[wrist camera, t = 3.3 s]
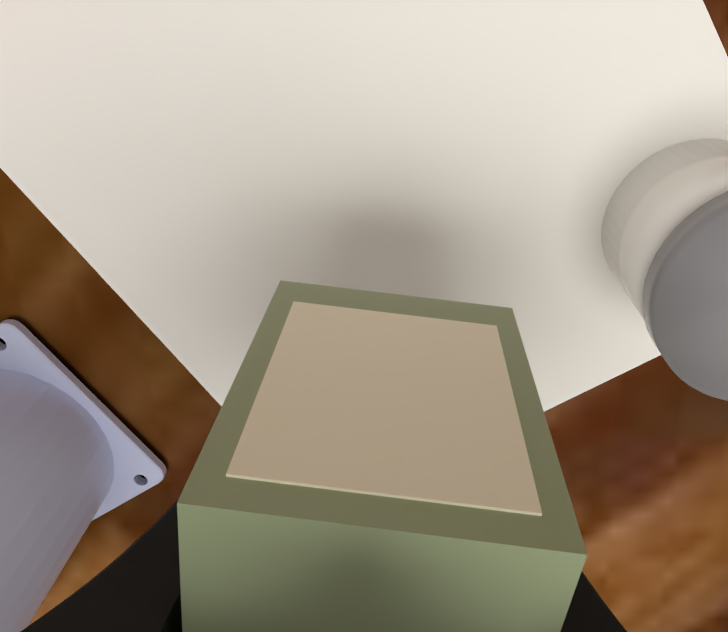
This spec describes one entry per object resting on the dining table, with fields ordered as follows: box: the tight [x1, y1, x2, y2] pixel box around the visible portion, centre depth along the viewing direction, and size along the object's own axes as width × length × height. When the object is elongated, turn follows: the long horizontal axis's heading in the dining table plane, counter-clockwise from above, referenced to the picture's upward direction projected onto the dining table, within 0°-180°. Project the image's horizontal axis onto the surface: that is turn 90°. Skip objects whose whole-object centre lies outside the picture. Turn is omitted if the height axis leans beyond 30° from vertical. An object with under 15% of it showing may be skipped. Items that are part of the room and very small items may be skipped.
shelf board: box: [0, 0, 728, 411], centre depth 17 cm, size 18×22×3 cm
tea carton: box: [177, 280, 587, 632], centre depth 11 cm, size 7×4×6 cm, turn 175°
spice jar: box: [601, 139, 728, 401], centre depth 16 cm, size 5×5×5 cm
